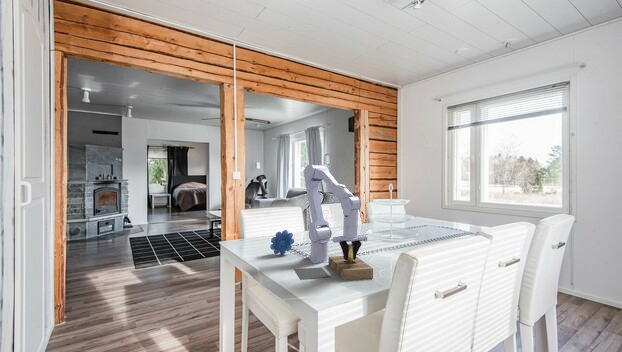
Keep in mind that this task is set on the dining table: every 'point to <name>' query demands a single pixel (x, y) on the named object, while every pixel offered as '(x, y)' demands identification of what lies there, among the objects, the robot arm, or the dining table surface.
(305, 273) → the rubber mat
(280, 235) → the blue thick lobed disc
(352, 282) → the dining table surface
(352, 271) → the walnut block
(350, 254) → the brass pin
